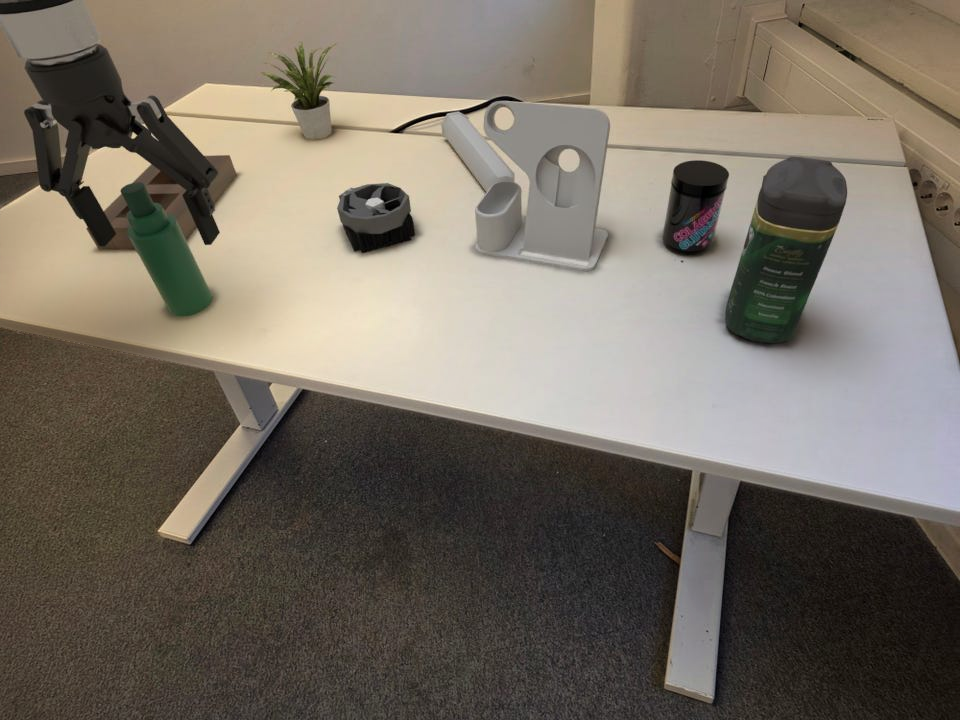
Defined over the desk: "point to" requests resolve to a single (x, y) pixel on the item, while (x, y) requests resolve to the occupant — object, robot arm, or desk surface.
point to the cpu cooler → (375, 216)
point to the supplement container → (694, 206)
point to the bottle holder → (165, 201)
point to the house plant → (307, 94)
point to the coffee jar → (785, 248)
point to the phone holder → (546, 186)
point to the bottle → (165, 253)
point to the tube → (475, 151)
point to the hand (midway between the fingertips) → (159, 239)
